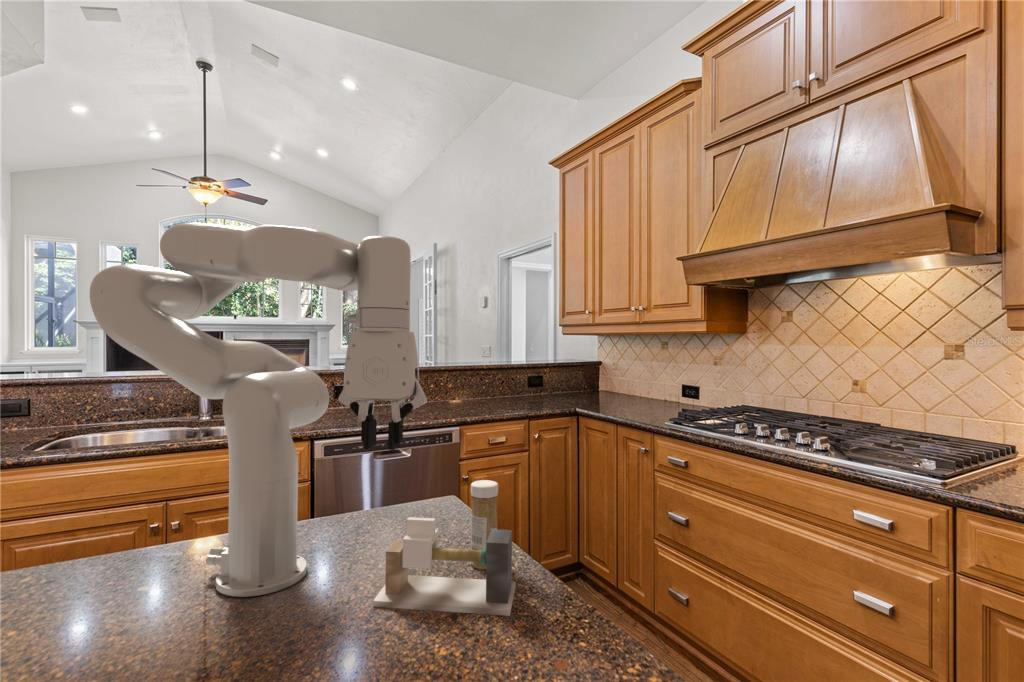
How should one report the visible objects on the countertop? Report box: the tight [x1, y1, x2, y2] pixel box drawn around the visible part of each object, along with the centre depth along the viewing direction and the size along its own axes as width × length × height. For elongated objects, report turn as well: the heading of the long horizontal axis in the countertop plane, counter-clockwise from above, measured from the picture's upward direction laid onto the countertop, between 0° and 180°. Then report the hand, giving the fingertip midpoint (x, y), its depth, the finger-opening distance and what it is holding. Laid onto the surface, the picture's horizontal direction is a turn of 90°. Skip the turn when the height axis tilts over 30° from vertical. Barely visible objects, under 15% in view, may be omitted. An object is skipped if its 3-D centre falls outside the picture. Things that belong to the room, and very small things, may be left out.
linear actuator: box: [372, 528, 517, 617], centre depth 71 cm, size 19×8×9 cm, turn 84°
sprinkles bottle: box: [470, 479, 499, 570], centre depth 81 cm, size 5×5×14 cm
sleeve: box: [402, 516, 439, 570], centre depth 71 cm, size 4×4×6 cm
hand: (382, 446), depth 72 cm, fingers open, 3 cm apart
